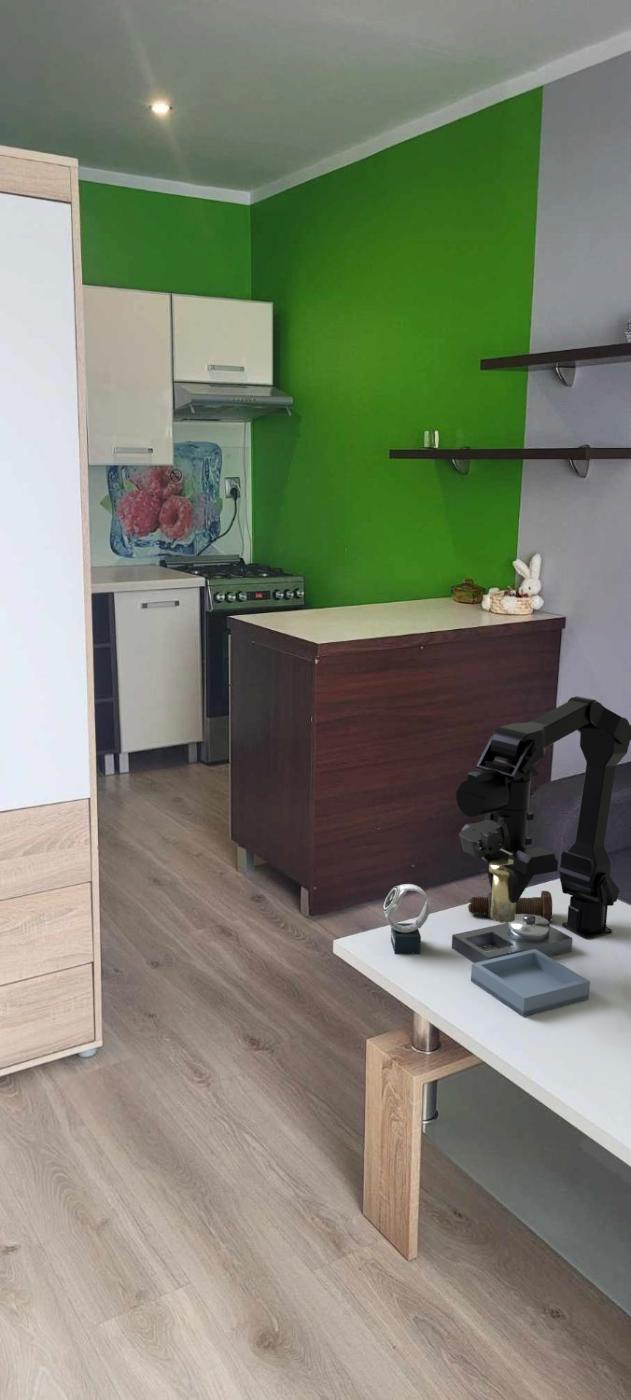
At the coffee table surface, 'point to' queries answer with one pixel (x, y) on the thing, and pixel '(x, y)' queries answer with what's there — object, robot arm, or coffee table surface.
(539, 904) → the bolt
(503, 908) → the pin
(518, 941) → the block
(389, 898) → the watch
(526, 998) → the tray
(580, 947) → the coffee table surface
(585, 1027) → the coffee table surface
